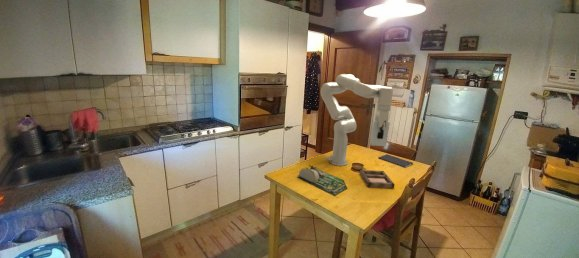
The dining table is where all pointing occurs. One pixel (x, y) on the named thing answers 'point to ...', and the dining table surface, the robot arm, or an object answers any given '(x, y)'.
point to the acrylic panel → (374, 134)
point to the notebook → (395, 160)
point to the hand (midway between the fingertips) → (378, 137)
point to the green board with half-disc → (322, 180)
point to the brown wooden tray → (376, 174)
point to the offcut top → (377, 180)
